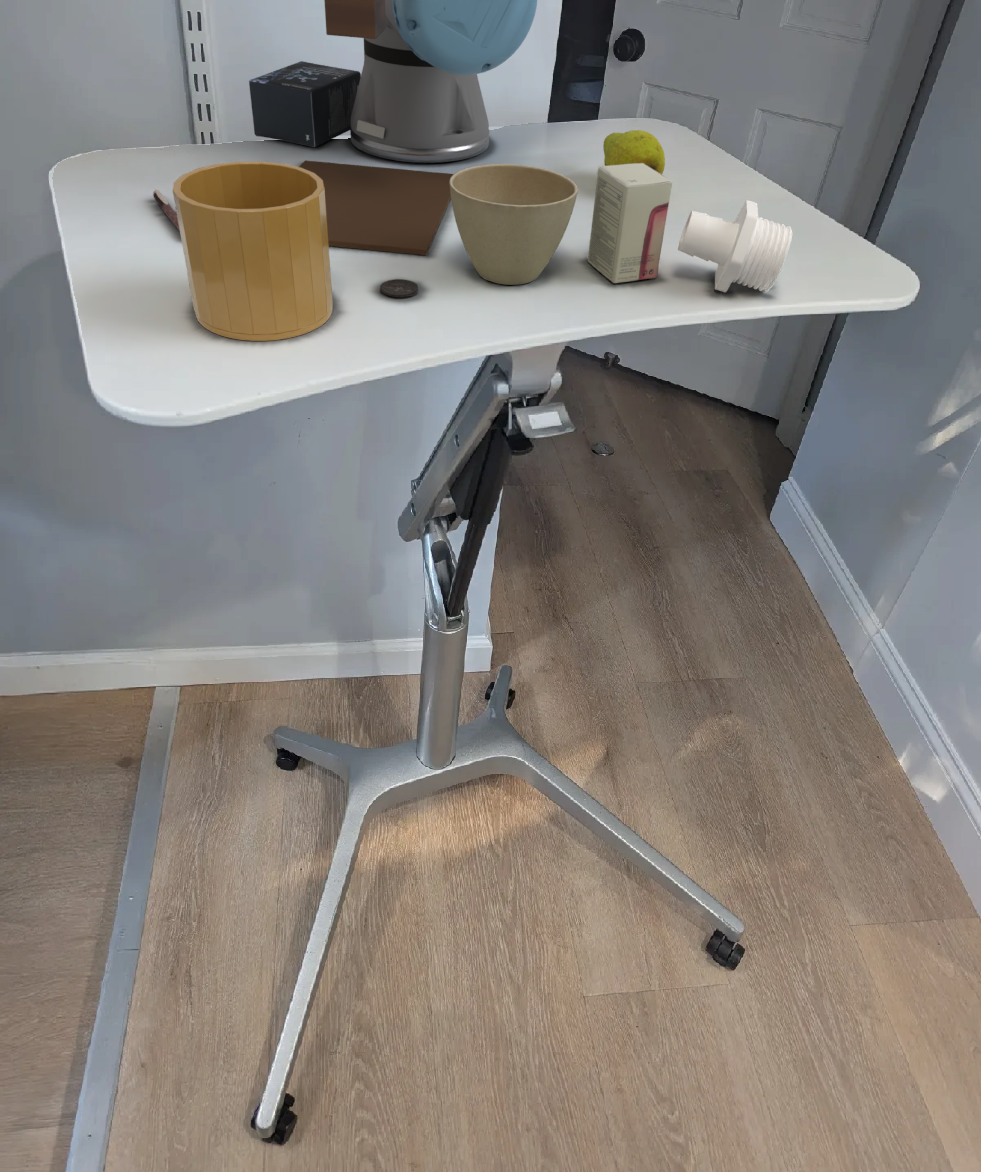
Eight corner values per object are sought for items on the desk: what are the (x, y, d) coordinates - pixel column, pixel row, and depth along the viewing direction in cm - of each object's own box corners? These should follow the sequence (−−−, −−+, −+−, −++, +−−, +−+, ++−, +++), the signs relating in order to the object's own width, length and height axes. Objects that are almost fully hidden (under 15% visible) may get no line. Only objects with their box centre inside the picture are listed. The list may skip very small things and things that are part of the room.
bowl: (591, 286, 73) (603, 195, 68) (484, 307, 69) (489, 213, 65) (528, 242, 80) (534, 156, 75) (427, 259, 76) (427, 170, 71)
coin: (409, 300, 69) (423, 284, 72) (409, 298, 69) (423, 282, 71) (374, 294, 70) (389, 278, 72) (373, 291, 70) (388, 276, 72)
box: (361, 69, 100) (311, 91, 92) (363, 125, 104) (315, 150, 96) (300, 59, 102) (246, 79, 94) (304, 113, 106) (253, 137, 98)
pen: (151, 197, 83) (149, 186, 82) (160, 197, 83) (158, 185, 82) (185, 242, 75) (182, 230, 75) (194, 240, 76) (192, 228, 75)
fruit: (612, 190, 87) (562, 154, 95) (657, 211, 90) (605, 175, 98) (642, 129, 84) (588, 98, 92) (687, 153, 87) (631, 121, 95)
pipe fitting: (672, 252, 77) (760, 280, 77) (668, 284, 72) (763, 314, 72) (700, 178, 73) (794, 207, 73) (698, 205, 68) (799, 237, 68)
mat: (305, 165, 92) (304, 160, 92) (459, 179, 91) (459, 174, 91) (242, 237, 77) (241, 232, 77) (426, 255, 76) (426, 249, 76)
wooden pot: (222, 276, 71) (203, 155, 65) (346, 288, 71) (339, 168, 65) (174, 333, 64) (149, 203, 58) (313, 347, 63) (301, 217, 57)
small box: (658, 279, 75) (675, 181, 70) (612, 285, 74) (627, 185, 68) (629, 256, 78) (643, 160, 73) (585, 261, 77) (596, 164, 72)
